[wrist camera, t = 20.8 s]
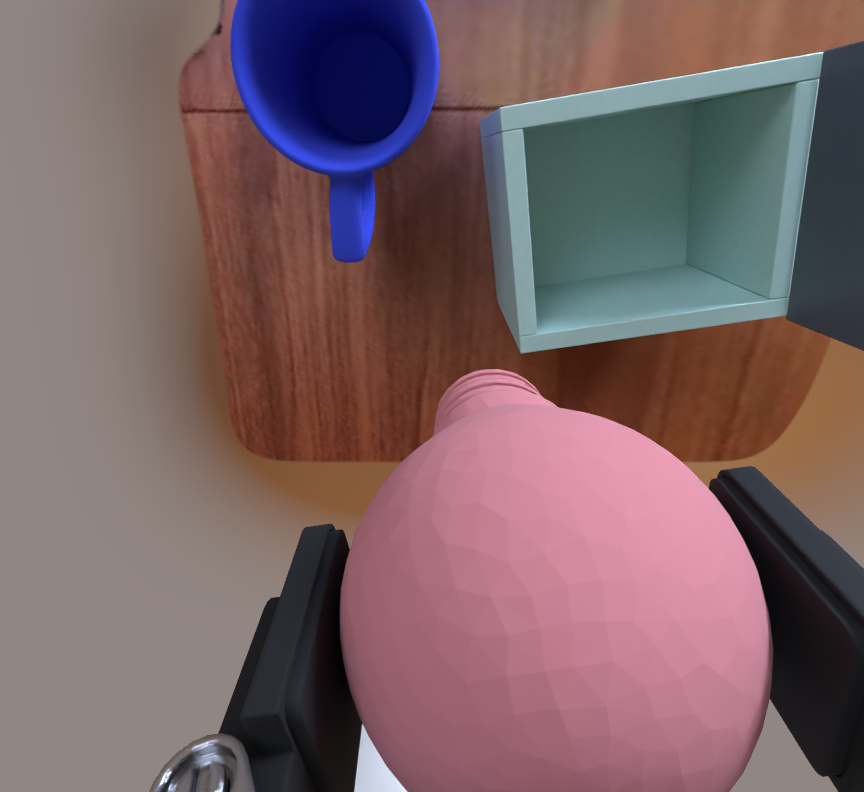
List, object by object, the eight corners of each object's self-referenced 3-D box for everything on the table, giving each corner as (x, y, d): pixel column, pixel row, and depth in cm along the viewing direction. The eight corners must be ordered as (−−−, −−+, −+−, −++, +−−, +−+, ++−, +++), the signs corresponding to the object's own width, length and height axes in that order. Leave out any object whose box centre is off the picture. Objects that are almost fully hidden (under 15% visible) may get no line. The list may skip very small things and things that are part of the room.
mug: (303, 235, 33) (255, 266, 24) (284, 0, 28) (212, -74, 19) (433, 237, 33) (435, 269, 24) (437, 4, 28) (441, -69, 19)
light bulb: (464, 247, 15) (554, 497, 4) (644, 375, 17) (1048, 790, 6) (341, 428, 17) (195, 880, 7) (509, 523, 19) (614, 1007, 8)
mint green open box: (497, 302, 35) (520, 353, 26) (479, 121, 30) (499, 107, 21) (692, 273, 34) (787, 315, 25) (703, 83, 29) (824, 51, 20)
